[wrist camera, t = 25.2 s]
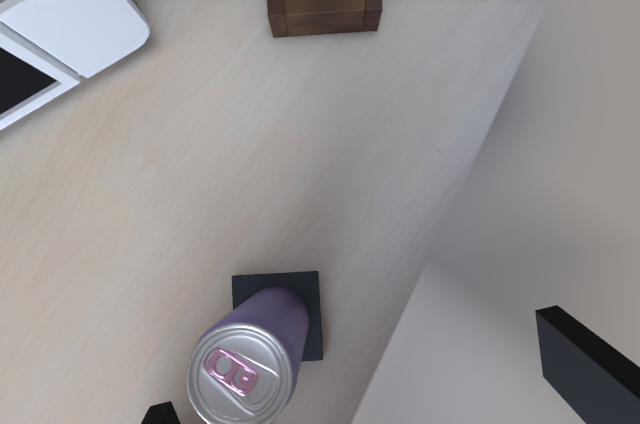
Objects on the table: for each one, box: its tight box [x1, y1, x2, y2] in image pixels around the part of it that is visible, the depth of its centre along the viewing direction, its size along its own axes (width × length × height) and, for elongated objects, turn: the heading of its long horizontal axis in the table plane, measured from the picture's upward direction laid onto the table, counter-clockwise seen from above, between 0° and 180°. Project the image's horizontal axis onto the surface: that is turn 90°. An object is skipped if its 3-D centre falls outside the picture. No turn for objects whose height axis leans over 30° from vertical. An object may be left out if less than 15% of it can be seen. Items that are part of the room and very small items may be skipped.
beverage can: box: [186, 286, 309, 424], centre depth 27 cm, size 6×6×15 cm
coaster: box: [232, 271, 323, 361], centre depth 35 cm, size 8×8×1 cm
